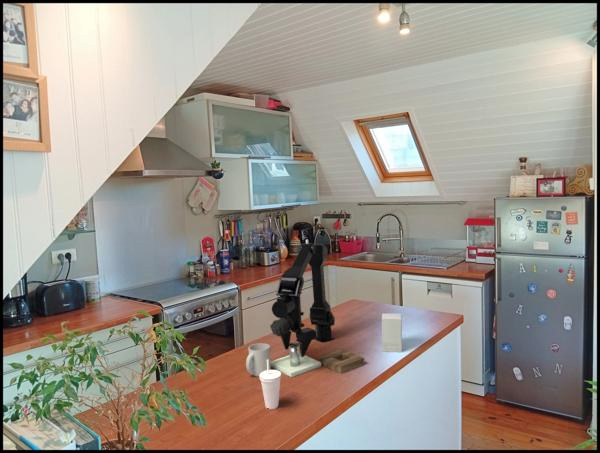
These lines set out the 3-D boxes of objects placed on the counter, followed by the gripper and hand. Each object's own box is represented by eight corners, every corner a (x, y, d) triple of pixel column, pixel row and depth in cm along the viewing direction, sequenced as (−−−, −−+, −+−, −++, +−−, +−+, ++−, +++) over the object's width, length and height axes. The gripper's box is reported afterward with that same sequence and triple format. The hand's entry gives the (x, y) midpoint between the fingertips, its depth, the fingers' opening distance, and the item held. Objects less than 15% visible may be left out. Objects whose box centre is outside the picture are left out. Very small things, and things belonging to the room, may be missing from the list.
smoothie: (260, 401, 137) (258, 356, 135) (282, 399, 137) (280, 354, 136) (260, 412, 130) (258, 364, 129) (283, 410, 131) (281, 363, 129)
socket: (319, 364, 162) (319, 357, 162) (342, 355, 169) (342, 349, 169) (340, 373, 154) (340, 366, 153) (364, 364, 160) (364, 357, 160)
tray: (269, 365, 163) (269, 361, 162) (298, 356, 170) (298, 352, 170) (291, 377, 152) (291, 373, 152) (321, 366, 160) (321, 362, 160)
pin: (288, 364, 162) (287, 344, 161) (295, 362, 164) (295, 341, 163) (294, 367, 159) (293, 346, 158) (301, 364, 161) (300, 344, 160)
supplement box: (402, 352, 170) (401, 319, 168) (381, 351, 171) (381, 318, 170) (401, 345, 177) (401, 313, 176) (382, 344, 178) (381, 312, 177)
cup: (275, 370, 159) (273, 345, 158) (255, 381, 151) (254, 355, 150) (259, 366, 163) (258, 341, 162) (239, 376, 155) (238, 351, 154)
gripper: (258, 309, 162) (260, 351, 163) (289, 320, 147) (291, 367, 149) (284, 302, 168) (286, 343, 170) (316, 313, 154) (318, 358, 155)
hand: (294, 353), depth 161 cm, fingers open, 9 cm apart
